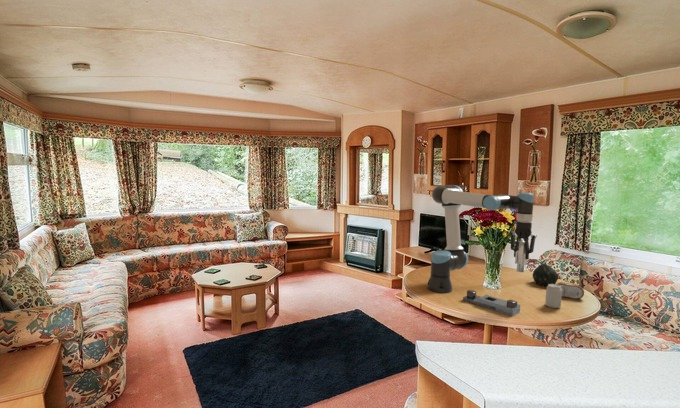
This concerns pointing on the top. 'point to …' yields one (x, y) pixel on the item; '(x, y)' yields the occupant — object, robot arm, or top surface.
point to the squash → (545, 275)
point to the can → (553, 296)
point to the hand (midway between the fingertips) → (520, 263)
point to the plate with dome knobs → (493, 303)
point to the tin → (571, 290)
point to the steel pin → (520, 256)
